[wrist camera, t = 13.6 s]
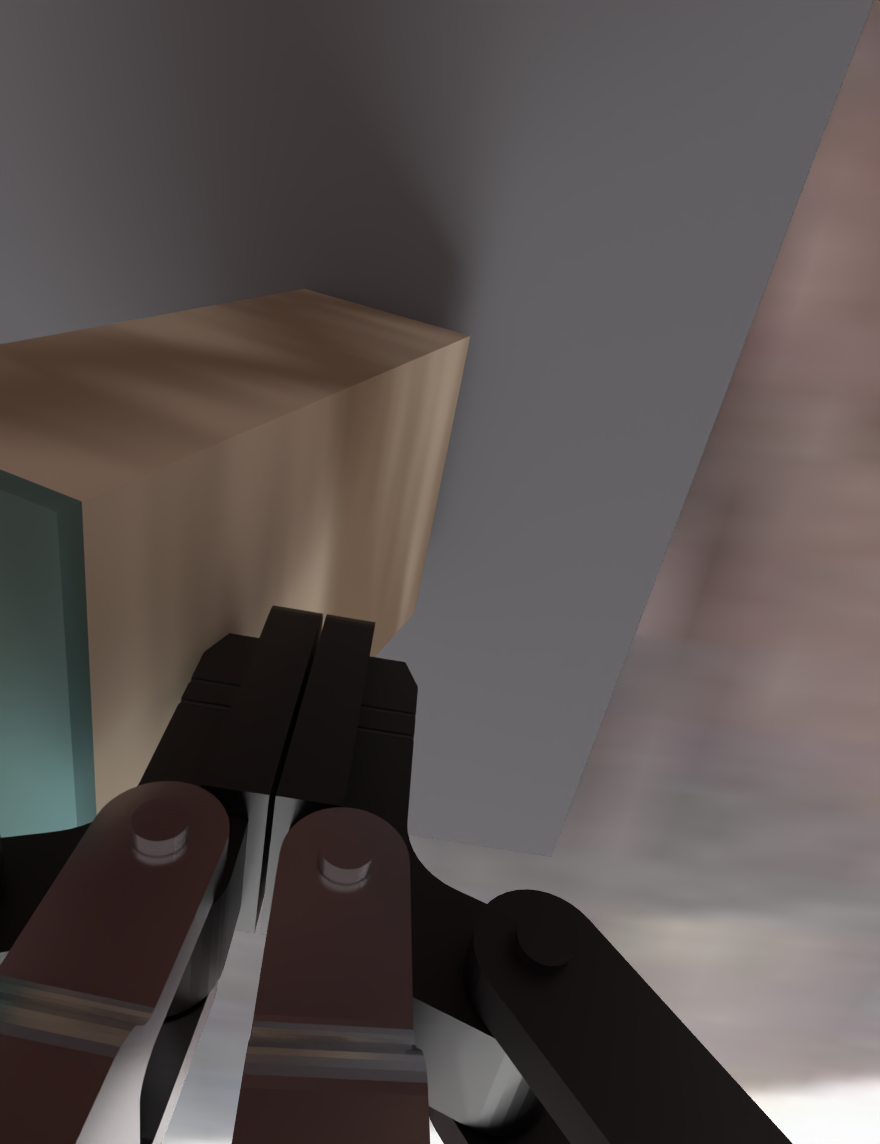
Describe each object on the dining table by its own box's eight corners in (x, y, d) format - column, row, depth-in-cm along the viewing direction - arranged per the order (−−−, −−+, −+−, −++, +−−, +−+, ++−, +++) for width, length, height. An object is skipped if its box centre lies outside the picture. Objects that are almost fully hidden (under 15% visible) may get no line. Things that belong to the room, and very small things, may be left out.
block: (470, 335, 16) (56, 512, 7) (414, 612, 20) (86, 975, 10) (304, 288, 17) (-248, 389, 8) (278, 560, 21) (-130, 849, 11)
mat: (909, -155, 14) (938, -174, 13) (548, 833, 27) (550, 856, 26) (-364, -472, 13) (-426, -516, 12) (-109, 729, 25) (-129, 751, 25)
